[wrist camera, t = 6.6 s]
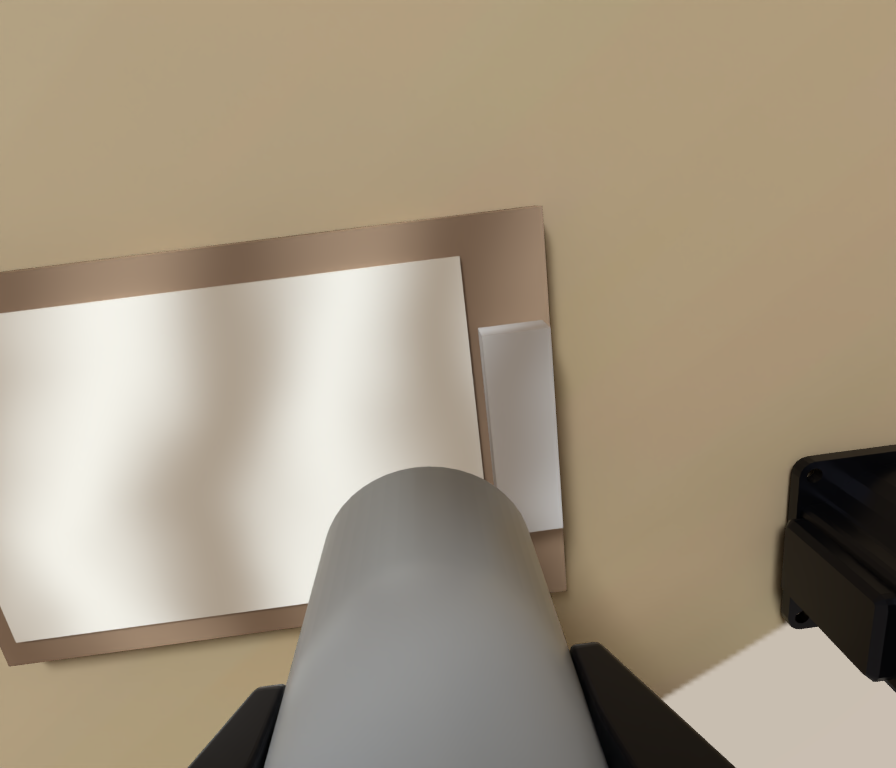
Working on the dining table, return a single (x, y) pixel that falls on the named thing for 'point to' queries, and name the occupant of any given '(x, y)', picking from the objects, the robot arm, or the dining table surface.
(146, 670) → the dining table surface
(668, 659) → the dining table surface
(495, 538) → the marker
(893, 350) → the dining table surface
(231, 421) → the clipboard
